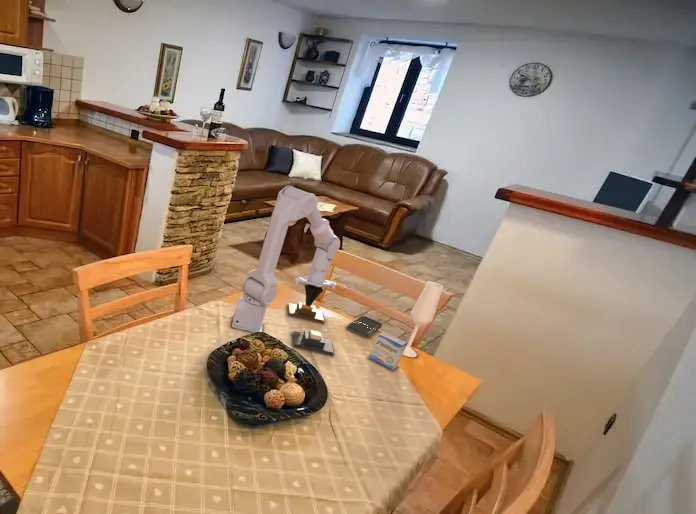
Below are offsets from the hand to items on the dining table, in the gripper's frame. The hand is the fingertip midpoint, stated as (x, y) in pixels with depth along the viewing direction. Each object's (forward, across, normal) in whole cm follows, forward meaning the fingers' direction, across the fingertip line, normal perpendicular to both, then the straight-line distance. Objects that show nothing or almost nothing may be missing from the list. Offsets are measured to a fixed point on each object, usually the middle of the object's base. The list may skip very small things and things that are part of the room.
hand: (308, 304), depth 174 cm
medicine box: (+4, +15, -30) cm, 34 cm away
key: (+1, -6, -22) cm, 23 cm away
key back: (+1, 0, 0) cm, 1 cm away
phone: (+4, +20, -6) cm, 21 cm away
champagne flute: (+4, +28, -21) cm, 35 cm away
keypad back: (+4, 0, 0) cm, 4 cm away
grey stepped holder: (+4, -6, -22) cm, 23 cm away
